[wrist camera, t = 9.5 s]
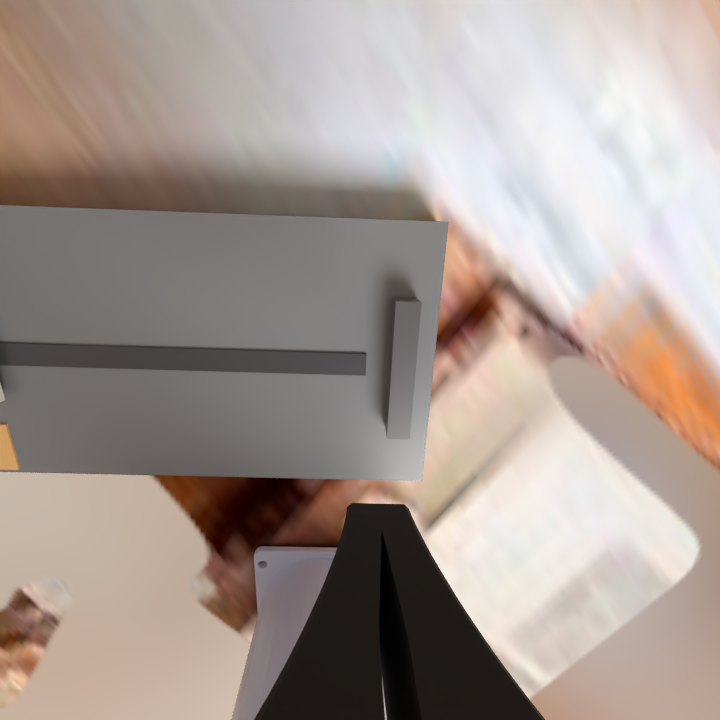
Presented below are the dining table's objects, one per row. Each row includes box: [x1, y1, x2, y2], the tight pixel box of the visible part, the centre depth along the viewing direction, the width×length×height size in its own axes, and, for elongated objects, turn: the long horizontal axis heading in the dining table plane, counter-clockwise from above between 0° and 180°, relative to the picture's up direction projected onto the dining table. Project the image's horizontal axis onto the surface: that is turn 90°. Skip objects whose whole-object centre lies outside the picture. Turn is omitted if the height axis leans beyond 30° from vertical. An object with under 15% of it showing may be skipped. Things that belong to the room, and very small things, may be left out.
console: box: [0, 205, 448, 481], centre depth 16 cm, size 12×28×3 cm, turn 88°
